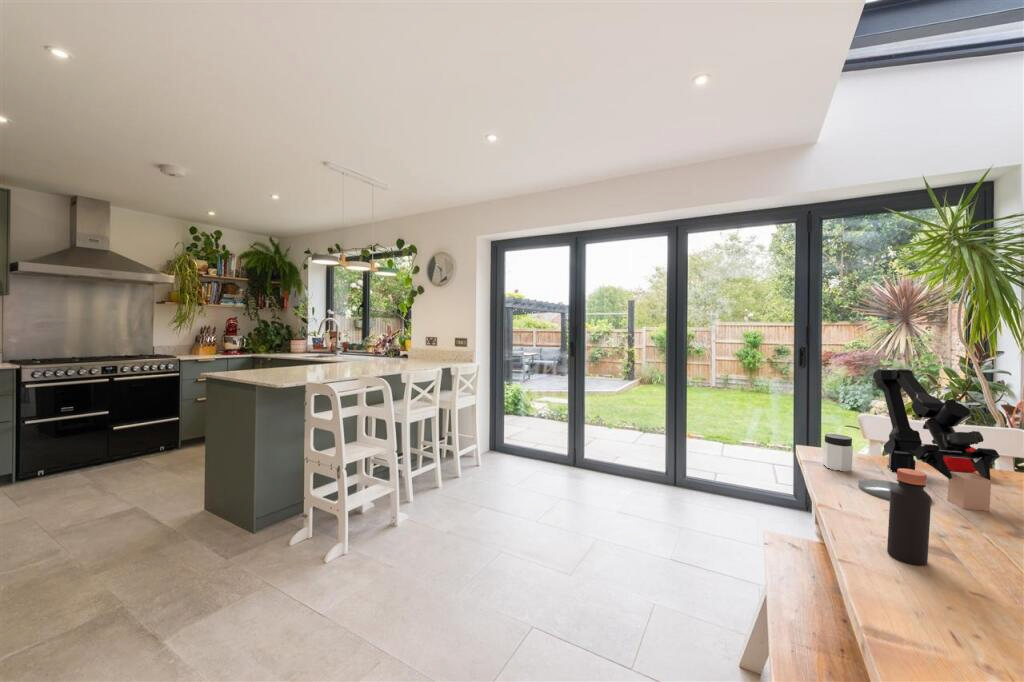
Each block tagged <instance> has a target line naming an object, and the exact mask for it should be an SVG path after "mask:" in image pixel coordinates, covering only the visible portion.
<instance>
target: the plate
mask: <svg viewBox="0 0 1024 682" xmlns="http://www.w3.org/2000/svg"><path fill="white" fill-rule="evenodd" d="M897 485H898V482H894V481H888V480H882V479H868V478H867V479H861V480H859V481H858V485H857V487H858V488H859V489H860V490H861V491H862V490H863V492H864V491H865V492H864V493H866V492H867V493H866V494H868V493H869V495H870V496H874V497H877V498H880V499H884V500H887V501H890V491H891V489H892V488H893V487H895V486H897Z"/></svg>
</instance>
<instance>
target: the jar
mask: <svg viewBox="0 0 1024 682" xmlns="http://www.w3.org/2000/svg"><path fill="white" fill-rule="evenodd" d="M822 444H823V445H822V461H821V462H822V463H823V464H824V465H825V466H826V467H827V468H831V469H830V470H832V469H835V470H834V471H836V470H840V471H844V472H851V471H850V470H852V471H853V451H854V446H853V445H852V444H853V437H850V436H848V435H843V434H838V433H826V434H824V440H823V443H822ZM823 464H822V465H823ZM824 465H823V466H824ZM825 466H824V467H825ZM826 467H825V468H826ZM827 468H826V469H827ZM840 471H839V472H840Z"/></svg>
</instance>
